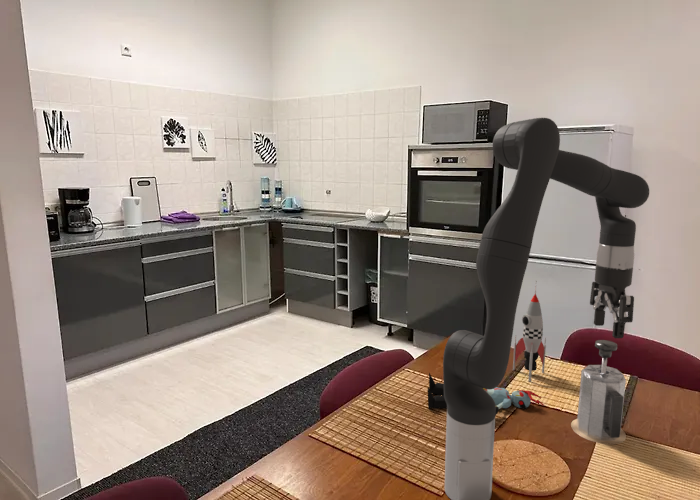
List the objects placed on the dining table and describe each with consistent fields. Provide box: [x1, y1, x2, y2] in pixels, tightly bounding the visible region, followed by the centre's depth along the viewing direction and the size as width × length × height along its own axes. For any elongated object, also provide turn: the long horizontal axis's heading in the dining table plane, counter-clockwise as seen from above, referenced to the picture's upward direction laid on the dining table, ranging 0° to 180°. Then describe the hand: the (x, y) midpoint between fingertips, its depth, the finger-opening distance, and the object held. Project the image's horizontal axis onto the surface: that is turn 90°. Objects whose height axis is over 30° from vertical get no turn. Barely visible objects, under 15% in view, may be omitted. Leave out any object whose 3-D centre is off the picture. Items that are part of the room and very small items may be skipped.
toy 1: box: [427, 372, 545, 417], centre depth 134 cm, size 26×8×30 cm
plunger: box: [594, 339, 618, 374], centre depth 117 cm, size 6×6×18 cm
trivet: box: [570, 418, 627, 445], centre depth 120 cm, size 12×12×1 cm
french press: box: [576, 364, 627, 441], centre depth 117 cm, size 12×10×15 cm
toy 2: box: [512, 280, 547, 382], centre depth 149 cm, size 9×8×30 cm
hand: (607, 331), depth 115 cm, fingers open, 8 cm apart
